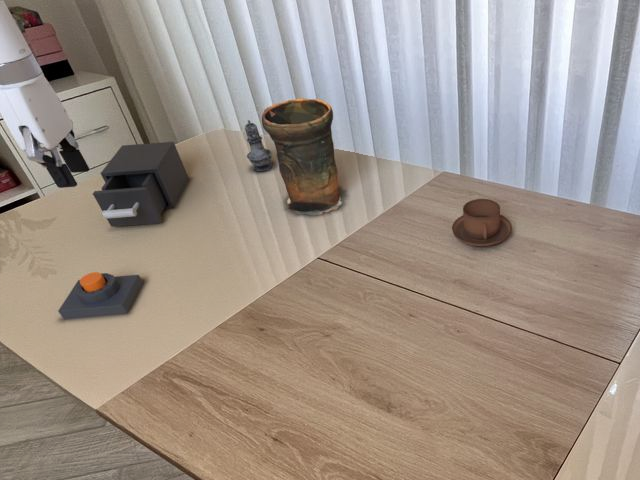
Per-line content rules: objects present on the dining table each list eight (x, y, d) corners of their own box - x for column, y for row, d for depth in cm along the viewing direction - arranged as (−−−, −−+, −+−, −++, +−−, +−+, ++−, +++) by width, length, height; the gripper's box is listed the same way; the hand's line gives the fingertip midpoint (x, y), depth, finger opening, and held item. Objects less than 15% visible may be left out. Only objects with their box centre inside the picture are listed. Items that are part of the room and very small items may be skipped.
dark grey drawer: (154, 233, 115) (137, 200, 109) (103, 238, 114) (84, 204, 109) (176, 193, 126) (162, 161, 121) (130, 197, 126) (113, 165, 120)
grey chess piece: (246, 172, 135) (230, 124, 126) (258, 161, 139) (243, 113, 130) (268, 174, 134) (253, 125, 125) (279, 163, 138) (265, 115, 129)
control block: (64, 320, 97) (51, 303, 94) (84, 288, 103) (72, 271, 101) (128, 314, 98) (117, 297, 95) (144, 283, 104) (134, 266, 101)
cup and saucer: (522, 241, 110) (523, 214, 105) (468, 258, 106) (467, 231, 102) (494, 213, 117) (494, 187, 113) (443, 228, 114) (441, 201, 110)
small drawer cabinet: (174, 209, 123) (156, 168, 117) (121, 213, 123) (100, 173, 116) (189, 180, 133) (173, 141, 126) (140, 183, 132) (121, 145, 126)
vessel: (357, 185, 128) (340, 97, 114) (338, 218, 118) (318, 125, 104) (299, 183, 130) (275, 95, 116) (275, 214, 120) (247, 123, 106)
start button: (81, 293, 97) (76, 285, 95) (89, 280, 99) (84, 273, 98) (102, 291, 97) (97, 283, 96) (109, 279, 99) (104, 271, 98)
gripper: (13, 54, 91) (72, 159, 104) (-44, 92, 79) (31, 204, 92) (59, 51, 91) (112, 156, 104) (10, 88, 79) (77, 201, 92)
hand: (74, 177), depth 98 cm, fingers open, 4 cm apart
